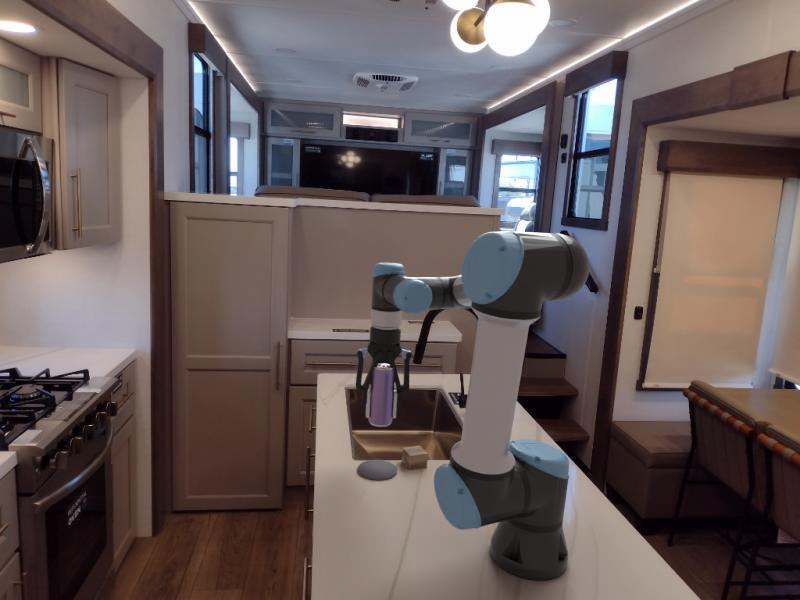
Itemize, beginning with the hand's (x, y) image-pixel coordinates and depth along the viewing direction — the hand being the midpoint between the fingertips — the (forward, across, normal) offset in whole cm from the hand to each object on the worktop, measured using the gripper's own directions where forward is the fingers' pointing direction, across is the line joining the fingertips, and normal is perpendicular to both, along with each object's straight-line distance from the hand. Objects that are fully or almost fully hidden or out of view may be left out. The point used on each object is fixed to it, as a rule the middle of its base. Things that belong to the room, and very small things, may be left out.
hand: (380, 415), depth 145 cm
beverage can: (+2, 0, 0) cm, 2 cm away
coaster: (+15, 0, 0) cm, 15 cm away
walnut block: (+15, -10, -4) cm, 18 cm away
